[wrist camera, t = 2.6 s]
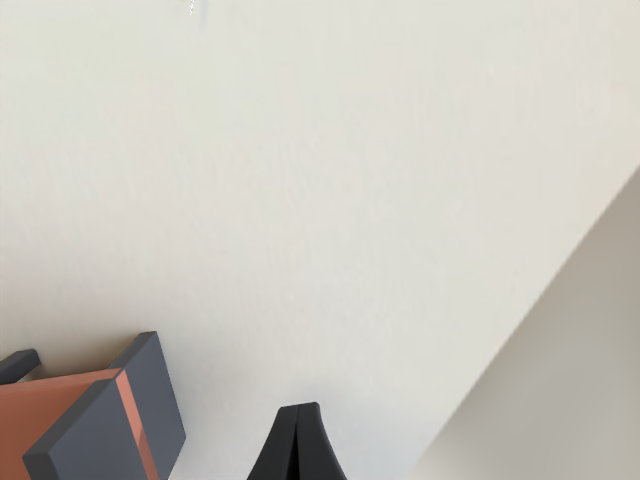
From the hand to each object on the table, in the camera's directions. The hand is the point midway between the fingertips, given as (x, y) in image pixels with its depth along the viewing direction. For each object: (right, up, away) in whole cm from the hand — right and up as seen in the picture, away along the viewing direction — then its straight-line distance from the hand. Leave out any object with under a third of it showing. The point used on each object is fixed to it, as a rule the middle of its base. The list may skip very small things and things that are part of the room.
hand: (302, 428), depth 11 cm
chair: (-9, 0, +3) cm, 10 cm away
